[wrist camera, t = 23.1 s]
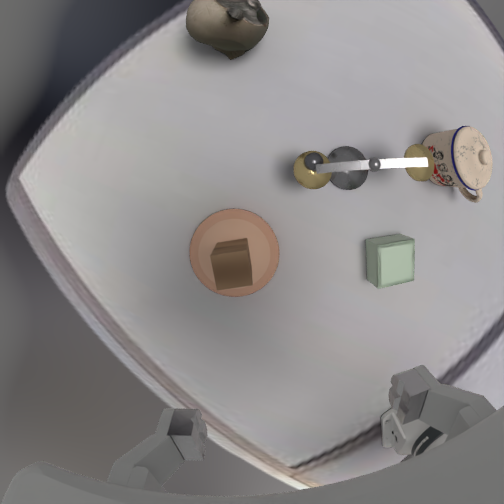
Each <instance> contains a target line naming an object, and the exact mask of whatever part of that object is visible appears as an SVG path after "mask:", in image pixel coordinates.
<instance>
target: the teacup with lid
mask: <svg viewBox="0 0 504 504" xmlns="http://www.w3.org/2000/svg"><path fill="white" fill-rule="evenodd" d="M422 145H424V146H425V147H427V148H428V149H429V151H430V152H431V154H432V156H433V159H434V172H433V174H432V176H431V177H430V180H431V181H432V182H433V183H435V184H437V185H440V186H450V187H458V188H459V190H460V192H461V193H462V195H463V196H464V197H465V198H466V199H468V200H469V201H471V202H475V203H476V202H479V201H480V200H481V198H482V189H481V188H483V187H484V186H485V185H486V184H487V183H488V181H489V179H490V177H491V173H492V155H491V151H490V148H489V145H488V143H487V141H486V139H485V138H484V136H483V135H482V134H481V133H480V132H479V131H478V130H477V129H475V128H473V127H470V126H462V127H460V128H458V129H454V130H449V131H444V132H439V133H434V134H431V135H429V136H428V137H426V139H425V140H424V142H423V144H422ZM466 188H468V189H470V190H475V191H476V194H477V196H474V195H472V194H471V193H469V192H468V191H467V190H466Z"/></svg>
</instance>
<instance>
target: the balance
mask: <svg viewBox="0 0 504 504" xmlns="http://www.w3.org/2000/svg"><path fill="white" fill-rule="evenodd" d="M401 167H405V169H406V171H407V173H408V174H409V176H410V177H411V178H412V179H414V180H416V181H427V180H428V179H430V177H431V176H432V174H433V172H434V159H433V156H432V154H431V152H430V151H429V149H428V148H427V147H425V146H424V145H421V144H415V145H411V146H410V147H409V148H408V149H407V150H406V152H405V155H404V158H397V159H378V158H376V157H371V158H370V159H369V160H366V159H365V157H364V156H363V154H362V153H361V152H360V151H358V150H357V149H355V148H353V147H348V146H345V147H340V148H338V149H336V150H334V151H333V152H332V153H331V154H330V155H329V157H328V159H327V157H326V156H325V155H323V154H322V153H320V152H317V151H308V152H305V153H303V154H301V155H300V156H299V157H298V158H297V159H296V161H295V163H294V168H293V171H294V176H295V178H296V180H297V181H298V183H299V184H301V185H302V186H303V187H305V188H308V189H319V188H321V187H323V186H325V185H326V184H327V183H328V182H329V180H331V182H332V183H333V184H334V185H336V186H337V187H339V188H341V189H346V190H352V189H356V188H358V187H360V186H361V185H362V184H363V183H364V182H365V180H366V178H367V175H368V169H369V170H371V171H373V172H376V171H378V170H379V169H382V168H401Z"/></svg>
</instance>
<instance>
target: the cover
mask: <svg viewBox="0 0 504 504" xmlns="http://www.w3.org/2000/svg"><path fill="white" fill-rule="evenodd" d="M366 260H367V280H368V281H369V282H371V283H372V284H373V285H374V286H375V287H376V288H378V289H380V288H385V287H389V286H393V285H398V284H402V283H406V282H410V281H414V260H415V240H414V239H413V238H410V237H408V236H405V235H402V234H397V235H390V236H384V237H378V238H372V239H366Z"/></svg>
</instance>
